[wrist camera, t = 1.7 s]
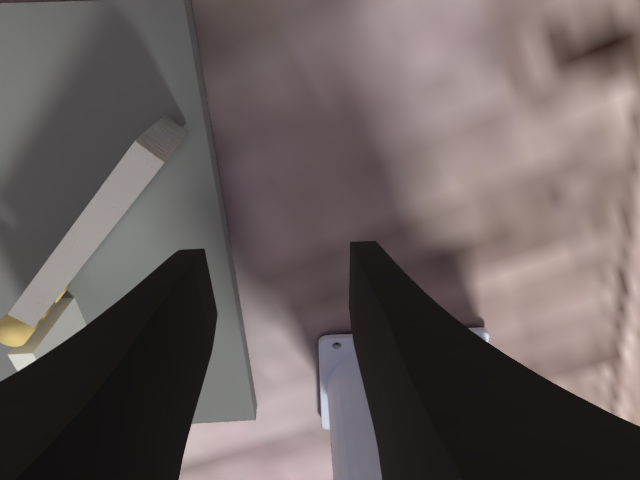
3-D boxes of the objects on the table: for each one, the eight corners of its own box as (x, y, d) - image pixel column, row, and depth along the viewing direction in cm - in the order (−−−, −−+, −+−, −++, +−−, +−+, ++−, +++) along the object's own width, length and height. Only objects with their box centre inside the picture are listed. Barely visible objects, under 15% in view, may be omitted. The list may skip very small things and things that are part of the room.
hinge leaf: (59, 299, 19) (18, 351, 16) (33, 285, 18) (-13, 336, 16) (191, 133, 15) (167, 164, 12) (163, 111, 15) (131, 138, 12)
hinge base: (190, -3, 14) (149, -2, 10) (257, 405, 25) (249, 479, 22) (-291, 10, 14) (-524, 17, 10) (-3, 419, 25) (-58, 497, 21)
